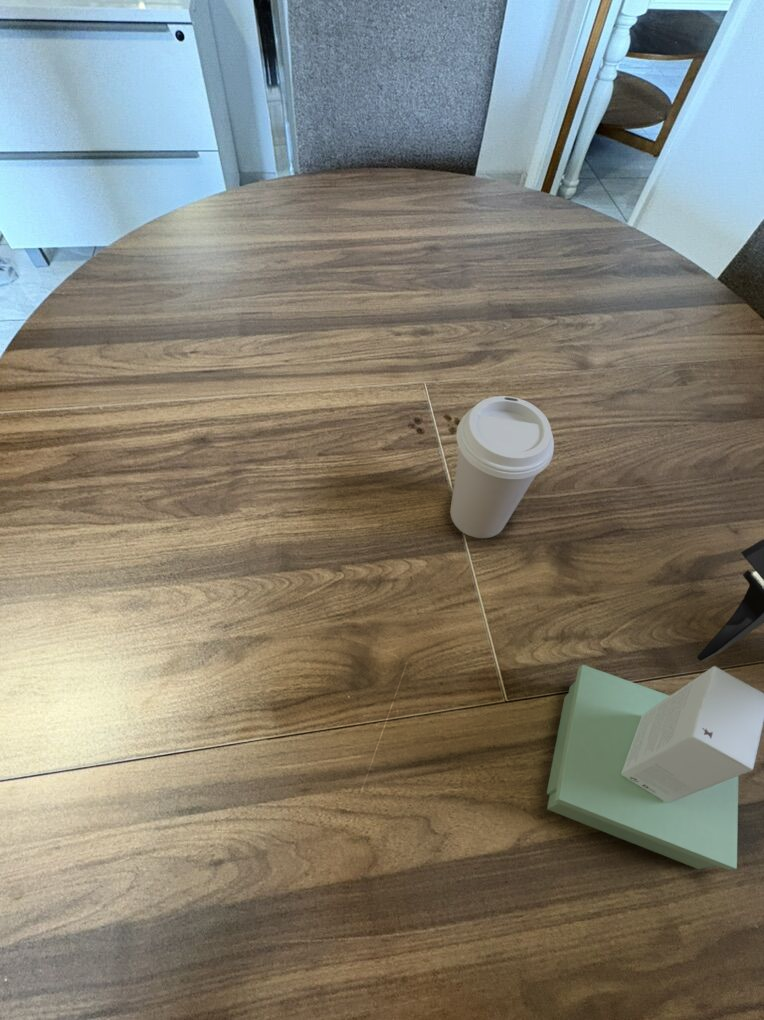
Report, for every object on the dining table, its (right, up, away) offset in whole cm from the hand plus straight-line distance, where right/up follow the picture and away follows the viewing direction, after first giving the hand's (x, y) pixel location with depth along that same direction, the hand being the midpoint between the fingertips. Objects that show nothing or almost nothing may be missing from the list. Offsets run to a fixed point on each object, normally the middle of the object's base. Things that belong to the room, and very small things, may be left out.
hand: (738, 715), depth 46 cm
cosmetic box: (-4, -6, +6) cm, 9 cm away
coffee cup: (-16, +15, +25) cm, 33 cm away
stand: (-4, -8, +10) cm, 13 cm away
